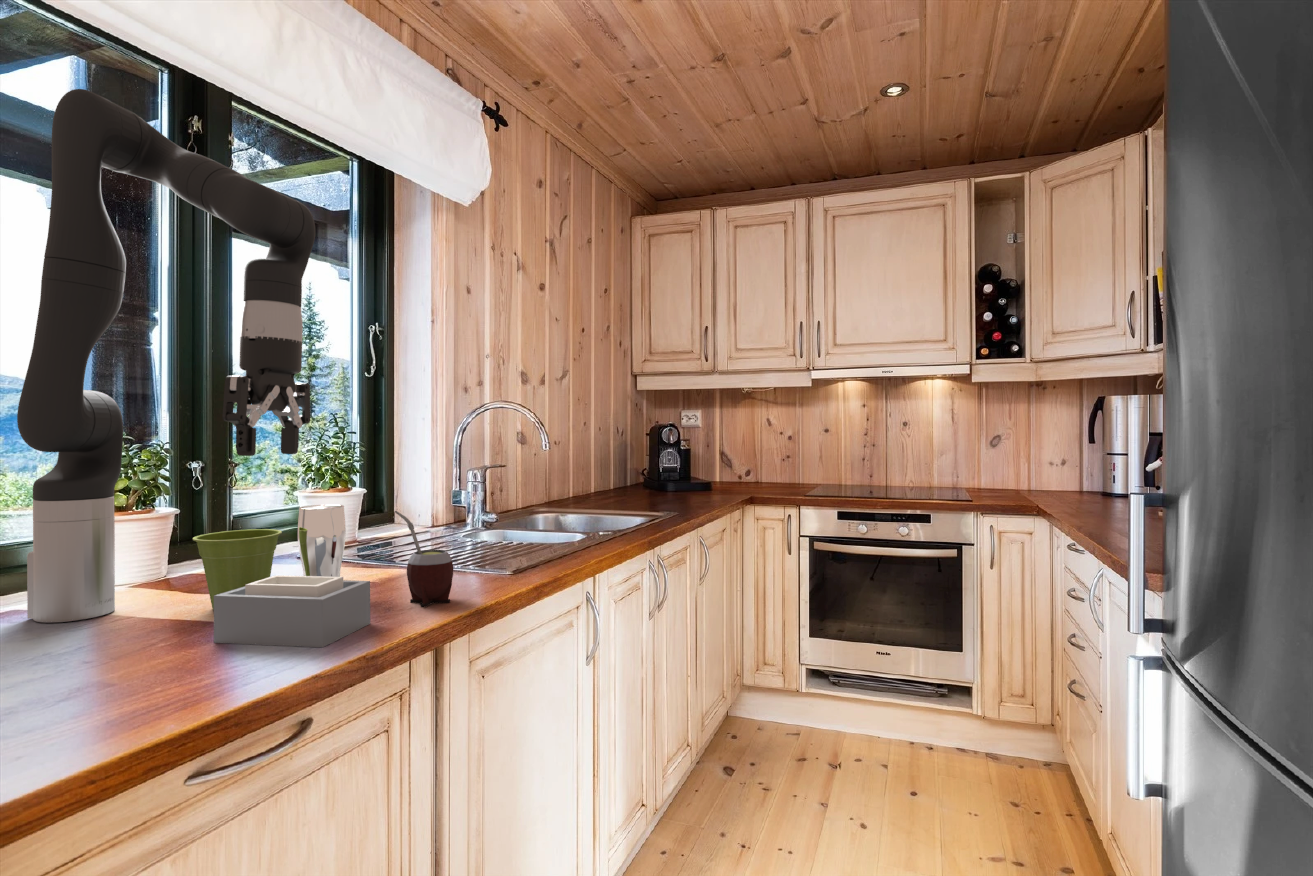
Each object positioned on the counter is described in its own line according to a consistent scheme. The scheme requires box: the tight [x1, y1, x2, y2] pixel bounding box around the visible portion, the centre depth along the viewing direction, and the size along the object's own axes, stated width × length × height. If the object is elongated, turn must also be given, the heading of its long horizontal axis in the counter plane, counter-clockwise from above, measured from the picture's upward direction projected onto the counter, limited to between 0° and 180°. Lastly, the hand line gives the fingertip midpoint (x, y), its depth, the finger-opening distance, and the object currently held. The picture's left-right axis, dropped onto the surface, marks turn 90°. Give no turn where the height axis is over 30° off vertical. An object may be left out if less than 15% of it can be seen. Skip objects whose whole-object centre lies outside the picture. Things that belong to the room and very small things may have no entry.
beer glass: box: [297, 504, 347, 577], centre depth 112 cm, size 7×7×15 cm
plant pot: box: [192, 528, 283, 611], centre depth 108 cm, size 12×12×11 cm
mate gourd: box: [394, 510, 454, 608], centre depth 110 cm, size 8×8×15 cm
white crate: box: [245, 574, 344, 597], centre depth 93 cm, size 6×10×6 cm, turn 84°
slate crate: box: [213, 579, 371, 648], centre depth 94 cm, size 11×15×6 cm
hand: (268, 454), depth 97 cm, fingers open, 8 cm apart
